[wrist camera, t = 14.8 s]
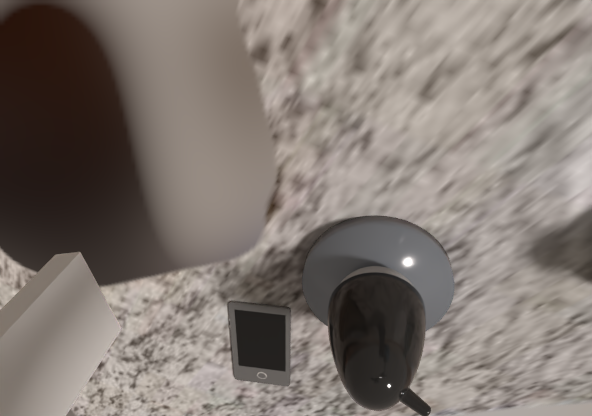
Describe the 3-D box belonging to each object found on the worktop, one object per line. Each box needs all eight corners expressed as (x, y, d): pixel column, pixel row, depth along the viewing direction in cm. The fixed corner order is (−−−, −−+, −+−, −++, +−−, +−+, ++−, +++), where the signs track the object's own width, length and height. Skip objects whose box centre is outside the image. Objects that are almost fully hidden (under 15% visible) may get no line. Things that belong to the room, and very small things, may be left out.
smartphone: (228, 297, 60) (227, 301, 60) (291, 304, 59) (290, 308, 59) (235, 375, 68) (233, 379, 67) (290, 382, 67) (289, 386, 66)
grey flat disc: (446, 207, 48) (449, 217, 47) (456, 326, 56) (458, 339, 55) (290, 224, 52) (287, 234, 51) (319, 333, 60) (317, 345, 59)
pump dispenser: (396, 333, 56) (402, 454, 43) (317, 300, 55) (298, 414, 42) (441, 274, 50) (464, 393, 37) (354, 237, 50) (346, 345, 37)
